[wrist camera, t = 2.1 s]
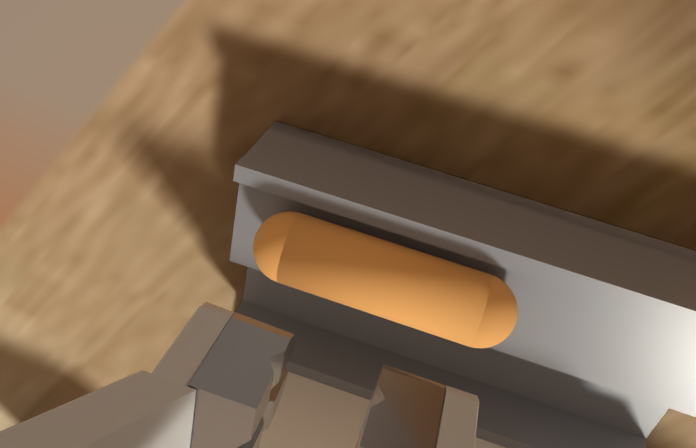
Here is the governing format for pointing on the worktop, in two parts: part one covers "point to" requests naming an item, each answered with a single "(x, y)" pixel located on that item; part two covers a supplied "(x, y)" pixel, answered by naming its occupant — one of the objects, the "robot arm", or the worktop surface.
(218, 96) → the worktop surface
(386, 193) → the grooved grey base
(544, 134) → the worktop surface
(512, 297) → the orange capsule pill
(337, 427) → the cover
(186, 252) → the worktop surface
